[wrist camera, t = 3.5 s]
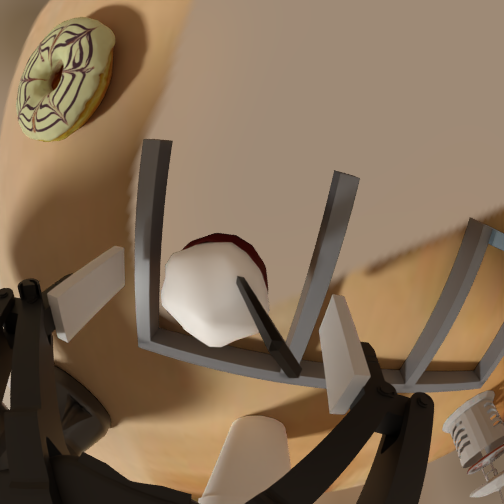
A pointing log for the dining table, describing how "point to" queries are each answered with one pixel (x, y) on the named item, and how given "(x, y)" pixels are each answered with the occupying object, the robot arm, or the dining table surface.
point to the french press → (478, 439)
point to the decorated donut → (65, 79)
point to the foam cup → (248, 461)
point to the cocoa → (223, 295)
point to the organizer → (303, 294)
